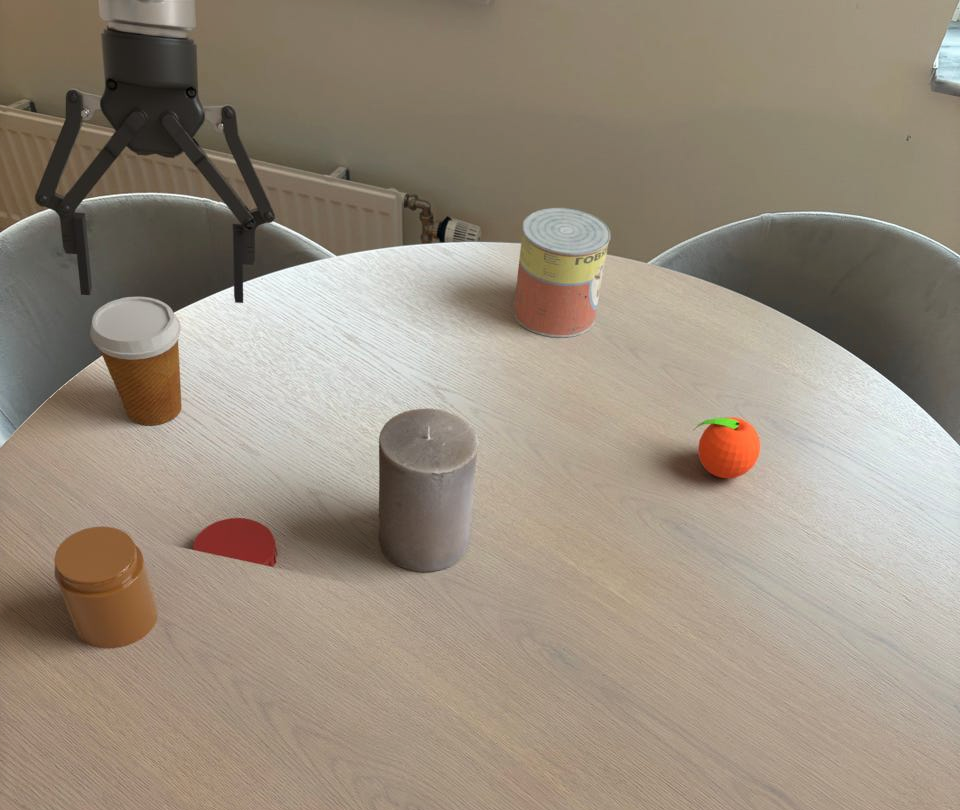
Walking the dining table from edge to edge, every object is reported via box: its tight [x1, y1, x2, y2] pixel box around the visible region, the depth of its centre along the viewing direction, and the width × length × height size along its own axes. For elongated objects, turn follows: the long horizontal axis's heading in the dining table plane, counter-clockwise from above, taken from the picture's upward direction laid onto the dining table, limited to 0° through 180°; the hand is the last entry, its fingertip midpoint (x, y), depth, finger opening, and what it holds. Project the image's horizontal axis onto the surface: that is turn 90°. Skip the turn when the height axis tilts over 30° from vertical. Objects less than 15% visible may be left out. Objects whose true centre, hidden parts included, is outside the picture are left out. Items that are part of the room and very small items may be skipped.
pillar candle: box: [378, 408, 479, 573], centre depth 99 cm, size 10×10×15 cm
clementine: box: [692, 416, 761, 479], centre depth 113 cm, size 8×7×7 cm
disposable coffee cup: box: [89, 296, 182, 426], centre depth 111 cm, size 10×10×12 cm
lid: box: [192, 517, 278, 568], centre depth 101 cm, size 8×8×2 cm
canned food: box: [512, 207, 611, 339], centre depth 129 cm, size 11×11×12 cm
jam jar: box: [53, 526, 159, 649], centre depth 90 cm, size 8×8×10 cm
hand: (164, 295), depth 92 cm, fingers open, 13 cm apart
